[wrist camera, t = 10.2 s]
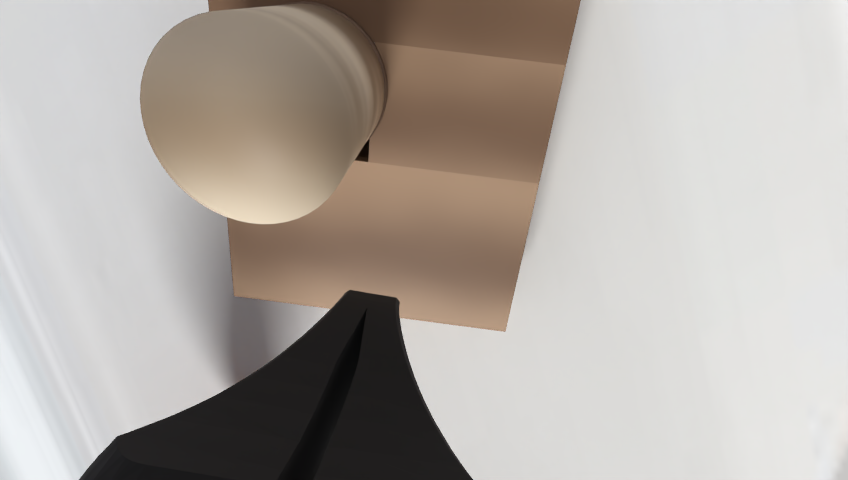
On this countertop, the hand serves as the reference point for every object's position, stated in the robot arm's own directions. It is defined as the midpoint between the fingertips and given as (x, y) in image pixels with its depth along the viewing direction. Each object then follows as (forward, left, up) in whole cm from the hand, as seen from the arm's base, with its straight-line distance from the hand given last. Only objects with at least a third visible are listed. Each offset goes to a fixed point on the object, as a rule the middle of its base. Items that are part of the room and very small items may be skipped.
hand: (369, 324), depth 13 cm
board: (-2, -1, -10) cm, 10 cm away
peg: (-4, -4, -10) cm, 11 cm away
